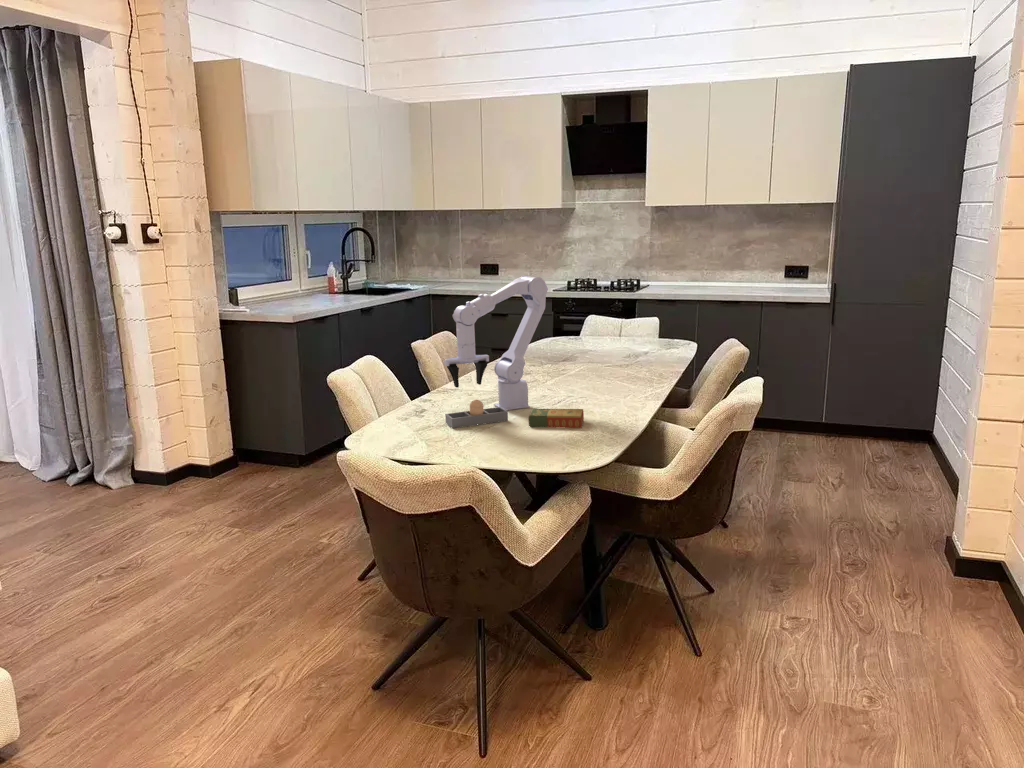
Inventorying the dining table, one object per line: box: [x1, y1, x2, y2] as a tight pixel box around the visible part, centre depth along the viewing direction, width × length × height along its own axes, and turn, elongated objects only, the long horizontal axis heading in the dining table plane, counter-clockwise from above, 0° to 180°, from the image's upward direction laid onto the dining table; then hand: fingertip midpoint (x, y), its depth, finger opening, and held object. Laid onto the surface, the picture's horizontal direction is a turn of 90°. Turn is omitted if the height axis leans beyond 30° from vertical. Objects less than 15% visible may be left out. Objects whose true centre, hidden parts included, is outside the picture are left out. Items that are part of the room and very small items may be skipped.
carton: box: [528, 408, 585, 429], centre depth 228 cm, size 8×16×4 cm, turn 80°
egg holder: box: [445, 406, 509, 429], centre depth 231 cm, size 18×6×3 cm, turn 113°
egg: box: [469, 399, 484, 416], centre depth 231 cm, size 4×4×6 cm
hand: (467, 385), depth 240 cm, fingers open, 7 cm apart
